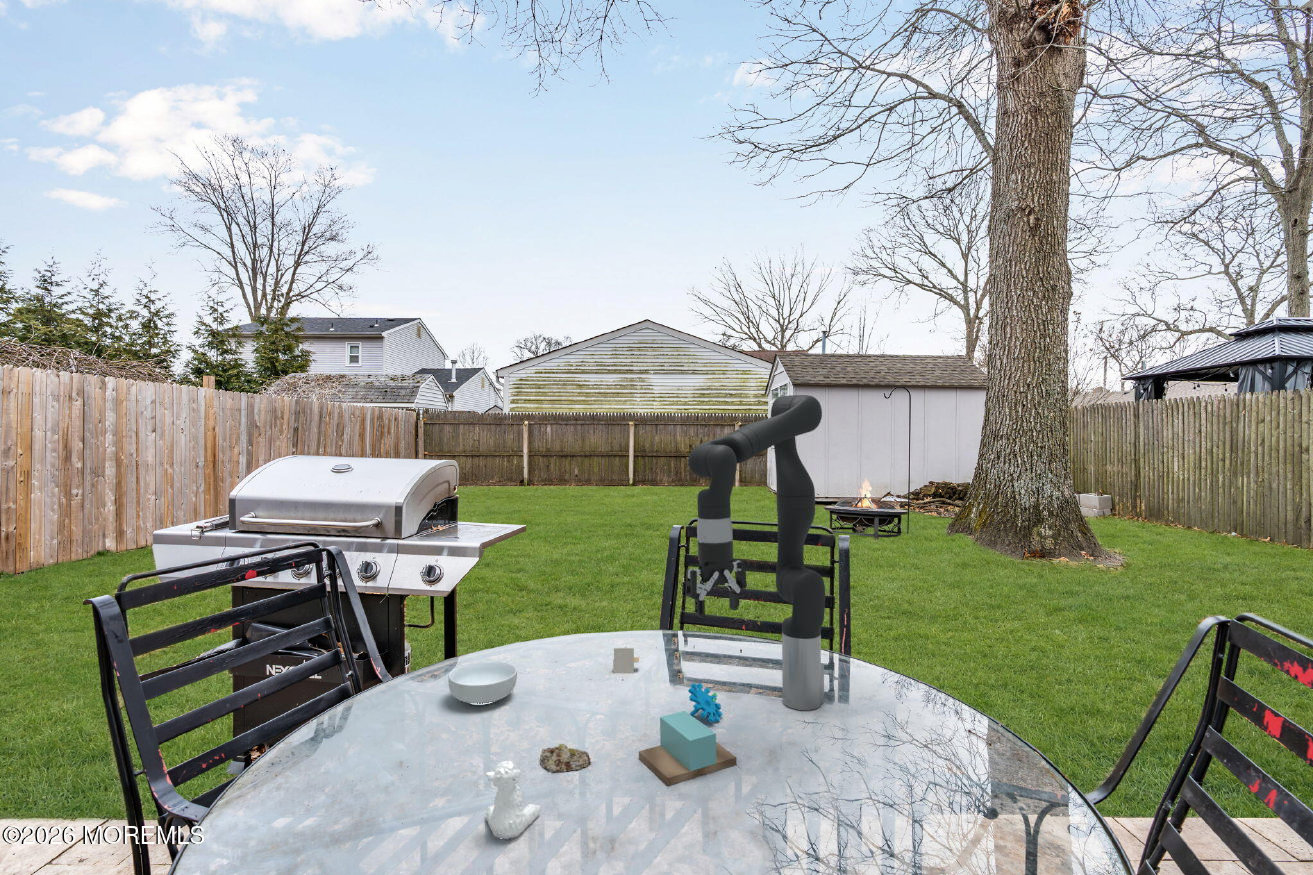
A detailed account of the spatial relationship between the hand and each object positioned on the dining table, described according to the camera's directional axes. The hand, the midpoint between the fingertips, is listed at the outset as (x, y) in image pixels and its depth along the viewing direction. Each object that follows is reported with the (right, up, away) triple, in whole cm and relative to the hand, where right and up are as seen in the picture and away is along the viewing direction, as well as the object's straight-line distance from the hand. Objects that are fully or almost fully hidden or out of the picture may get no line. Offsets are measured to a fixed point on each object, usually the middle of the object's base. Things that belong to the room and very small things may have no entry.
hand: (717, 613), depth 144 cm
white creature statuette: (-38, -30, -29) cm, 56 cm away
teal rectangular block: (-7, -27, -7) cm, 29 cm away
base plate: (-7, -28, -7) cm, 30 cm away
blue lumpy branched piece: (-1, -28, +13) cm, 31 cm away
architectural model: (-22, -28, +42) cm, 55 cm away
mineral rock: (-32, -29, -7) cm, 44 cm away
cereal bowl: (-56, -28, +24) cm, 68 cm away
